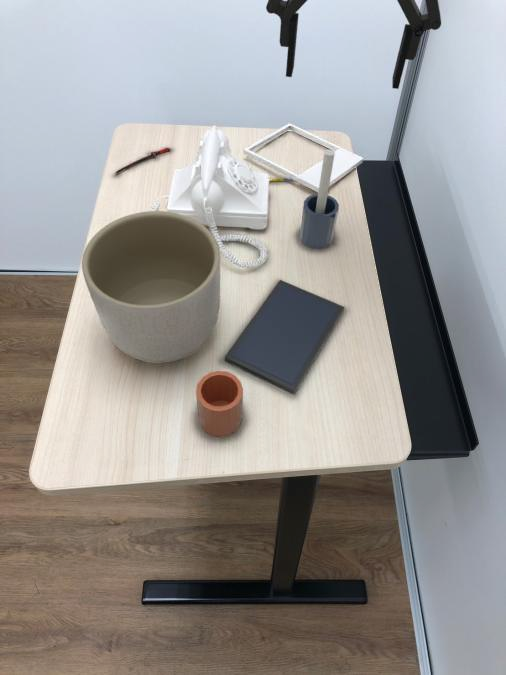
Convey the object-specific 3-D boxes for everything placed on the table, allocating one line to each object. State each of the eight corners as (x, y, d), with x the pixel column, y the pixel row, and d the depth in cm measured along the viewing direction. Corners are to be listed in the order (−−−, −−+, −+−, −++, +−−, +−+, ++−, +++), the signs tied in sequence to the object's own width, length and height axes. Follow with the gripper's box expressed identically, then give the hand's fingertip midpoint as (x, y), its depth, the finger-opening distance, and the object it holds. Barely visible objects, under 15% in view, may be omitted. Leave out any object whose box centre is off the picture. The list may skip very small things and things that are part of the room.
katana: (166, 147, 106) (165, 144, 105) (171, 150, 105) (170, 147, 104) (112, 172, 100) (111, 169, 100) (117, 176, 99) (116, 173, 99)
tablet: (343, 310, 82) (344, 306, 81) (294, 394, 73) (294, 390, 72) (279, 283, 85) (280, 279, 84) (224, 360, 76) (224, 356, 75)
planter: (225, 375, 75) (223, 304, 62) (101, 382, 73) (74, 312, 61) (219, 284, 85) (216, 208, 72) (109, 289, 83) (88, 212, 71)
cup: (249, 410, 71) (251, 382, 66) (228, 444, 69) (227, 418, 63) (213, 392, 73) (211, 363, 67) (191, 424, 70) (187, 397, 64)
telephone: (266, 274, 86) (270, 213, 76) (136, 268, 86) (123, 206, 76) (269, 176, 101) (273, 114, 91) (159, 171, 101) (150, 108, 91)
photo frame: (362, 163, 104) (288, 128, 111) (363, 158, 104) (289, 123, 110) (319, 194, 97) (243, 154, 103) (320, 189, 96) (243, 149, 102)
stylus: (322, 233, 91) (336, 151, 79) (318, 238, 91) (332, 156, 78) (314, 230, 92) (327, 148, 79) (310, 235, 91) (322, 153, 78)
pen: (237, 179, 99) (237, 180, 100) (238, 182, 99) (237, 184, 100) (312, 175, 101) (311, 177, 101) (312, 179, 100) (311, 180, 101)
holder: (337, 233, 92) (344, 200, 87) (324, 253, 89) (330, 221, 84) (308, 222, 94) (312, 189, 88) (293, 241, 91) (297, 208, 85)
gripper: (504, -138, 54) (438, 73, 71) (256, -158, 55) (251, 53, 72) (513, -116, 49) (441, 103, 66) (244, -138, 51) (241, 81, 68)
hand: (342, 77), depth 69 cm, fingers open, 13 cm apart
